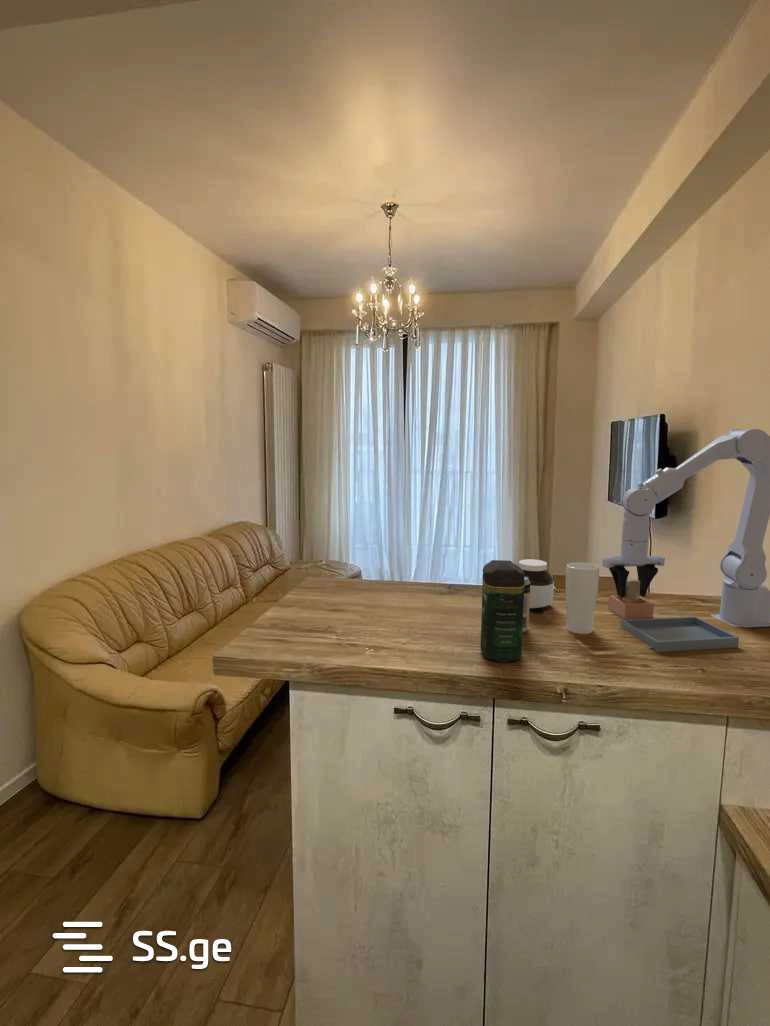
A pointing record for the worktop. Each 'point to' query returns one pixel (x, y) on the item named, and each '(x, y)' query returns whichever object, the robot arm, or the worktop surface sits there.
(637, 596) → the ash peg
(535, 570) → the spread jar
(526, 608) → the beer can
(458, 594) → the worktop surface
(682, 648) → the slate tray
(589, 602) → the drinking glass
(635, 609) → the salmon open box
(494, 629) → the coffee jar
